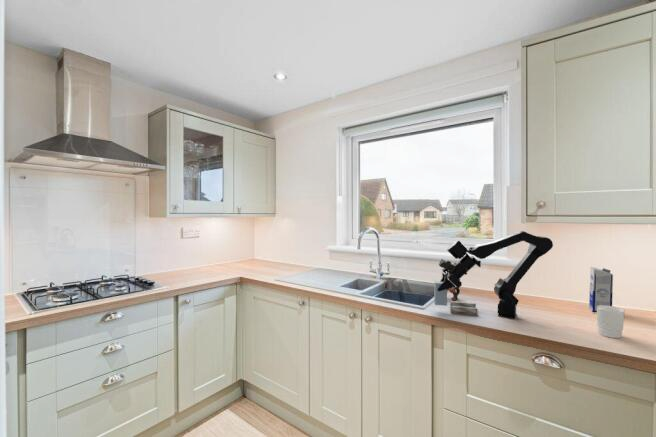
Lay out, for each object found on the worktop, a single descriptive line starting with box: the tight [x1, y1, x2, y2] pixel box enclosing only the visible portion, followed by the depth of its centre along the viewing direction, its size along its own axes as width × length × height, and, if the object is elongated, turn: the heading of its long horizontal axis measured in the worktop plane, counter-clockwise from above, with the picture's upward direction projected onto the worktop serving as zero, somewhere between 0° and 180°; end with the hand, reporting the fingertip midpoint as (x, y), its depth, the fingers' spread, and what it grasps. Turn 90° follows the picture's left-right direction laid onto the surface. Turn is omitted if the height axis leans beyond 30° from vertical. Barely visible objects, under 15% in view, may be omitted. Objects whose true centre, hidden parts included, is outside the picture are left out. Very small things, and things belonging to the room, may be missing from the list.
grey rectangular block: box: [433, 280, 448, 306], centre depth 148 cm, size 5×4×10 cm
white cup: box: [596, 305, 626, 339], centre depth 121 cm, size 8×8×10 cm
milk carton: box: [588, 266, 614, 313], centre depth 148 cm, size 7×7×20 cm
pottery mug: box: [447, 287, 461, 302], centre depth 169 cm, size 12×10×8 cm
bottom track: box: [449, 301, 478, 316], centre depth 149 cm, size 11×8×3 cm
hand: (437, 289), depth 148 cm, fingers closed on grey rectangular block, 3 cm apart
